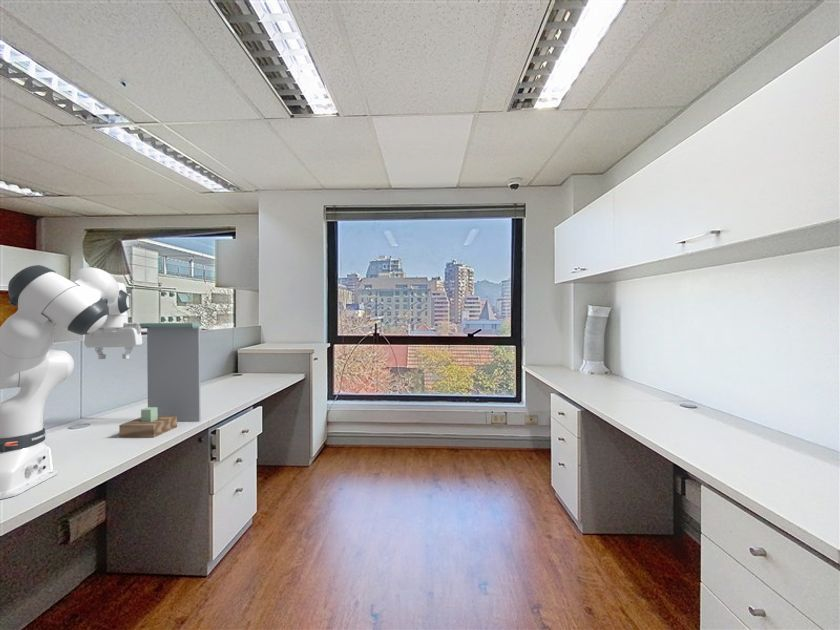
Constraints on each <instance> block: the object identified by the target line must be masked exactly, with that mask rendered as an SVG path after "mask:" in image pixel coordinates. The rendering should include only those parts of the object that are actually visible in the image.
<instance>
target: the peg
mask: <svg viewBox="0 0 840 630" xmlns="http://www.w3.org/2000/svg"><path fill="white" fill-rule="evenodd" d="M140 417H141V422H152V421H155V420H157V419H158V411H157V407H148V406H147V407H145V408H142V409H141V410H140Z"/></svg>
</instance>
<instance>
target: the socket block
mask: <svg viewBox="0 0 840 630" xmlns="http://www.w3.org/2000/svg"><path fill="white" fill-rule="evenodd" d="M177 427H178V422H177V416H158V419H157V420H155V421H152V422H141V416H140V417H138V418H135V419H132V420H130V421H127V422H125V423H121V424H119V428H118V429H119V431H118V432H119V433H118V434H119V436H118V437H119V438H121V439H123V438H127V439H128V438H131V439H132V438H142V439H143V438H145V439H146V438H148V439H149V438H155V437H158V436H161V435H163V434H164V433H165V434H166V433H167V432H169V431H171V430H174V429H175V428H177Z"/></svg>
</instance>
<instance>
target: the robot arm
mask: <svg viewBox="0 0 840 630" xmlns="http://www.w3.org/2000/svg"><path fill="white" fill-rule="evenodd" d="M7 284H8V286H7V293H8V295H9V300H8V304H9V305H10V306H12V307H17V310H16V312H14V313H13V314H11V315H10V316H9V317H8V318H6V319H5V321H3V323H2V324H1V326H0V390H3V389H13V388H19V391H18V393H17V394H16V395H14V396H13V397H10V398H8V399H6V400H4V401H2V402H0V500H5V499H8V498H12V497H15V496H18V495H20V494H21V493H23V492H25V491H27V490H29V489H31V488H33V487H35V486H37V485H39V484H41V483H43V482H44V481H47V480H49V479H51V478H52V477H54V476H56V475H58V474H59V472H58V470H57V469H53V459H52V458H53V457H52V451H51V448H50V446H48V445H47V444H46V443H45V440H46V433H47V432H46V428H45V427H44V414H45V413H44V412H45V406H46V401H47V399H48V398H49V396H50V394H51V393H52V392H53V391H54V389H55V388H56V387H57V386H58V385H60V384H61V383H62V382H64V381H65V380H67V379H68V378H69V377H70V376H71V375H72V373H73V372H74V369H75V361H74V358H73V356H72V355H71V354H70V352H67V351H66V350H61V349H59V350H58V349H52V346H53V345H54V341H55V337H56V329H55V324H57V325H59V326H60V327H63V328H65V329H67V331H68V332H71V333H73V334H76V335H79V336H84V337H83V338H84V339H83V340H84V346H85V347H86V348H94V351H95V353H96V354H97V356H98V357H97V359H98V360H106V354H105V353H104V352H103V350H104V348H124V350H125V351H124V353H123V354H122V359H124V360H126V359H127V360H128V359H130V354H131V353H132V351H133V348H134V347H135V348H136V347H137V348H138V347H141V346H142V344H143V337H142V331H141V327H140V324H138V323H136V322H133V323H130V322H129V313H128V310H129V309H131V295H130V294H129V293H128V290H127V286H126V284H125V283H123V282H121V281H117V280H116V278H115V277H113V275H111V274H110V273H109V272H107V271H106V270H104V269H101V268H98V267H92V266H90V267H89V266H87V267H82V268H79V269H77V270H76V271H74V272H73V273H72V274H71V275H70V278H69V279H68V278H66V277H64V276H63V275H60V274H58V273H57V272H56V270H53V269H52V268H49V267H47V266H44V265H40V264H36V265H30V266H26V267H25V268H23V269H21V270H20V271H18V272H16V274H14V275H13V277H12V278H11V279H10V280H9V281H8V283H7Z"/></svg>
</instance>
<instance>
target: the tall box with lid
mask: <svg viewBox="0 0 840 630" xmlns="http://www.w3.org/2000/svg"><path fill="white" fill-rule="evenodd" d="M139 326H140V327H141V329H146V338H147V339H146V343H147V344H146V350H147V351H146V352H147V354H146V355H147V358H146V359H147V361H146V363H147V365H146V367H147V373H146V375H147V407H157V411H158V416H177V423H178V422H179V423H181V422H182V423H183V422H184V423H185V422H187V423H188V422H189V423H191V422H192V423H194V422H195V423H197V422H198V423H200V422H201V418H202V417H201V324H200V322H144V323H139Z"/></svg>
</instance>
